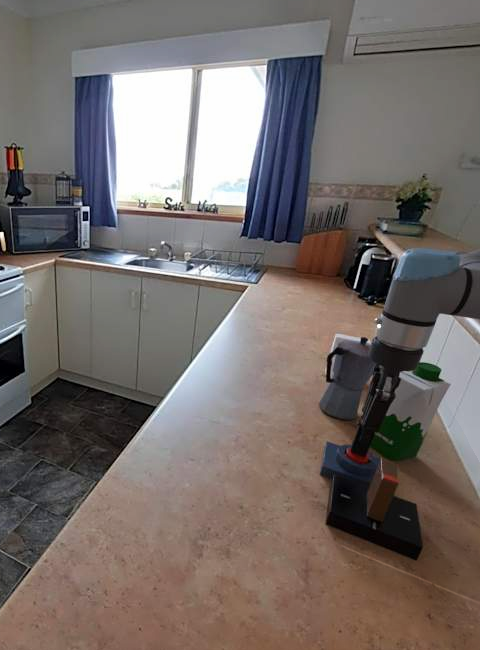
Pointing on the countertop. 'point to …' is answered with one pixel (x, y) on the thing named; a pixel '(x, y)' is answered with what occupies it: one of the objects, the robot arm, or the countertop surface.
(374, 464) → the button block
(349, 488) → the panel
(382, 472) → the handle
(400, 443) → the milk carton
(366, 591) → the countertop surface
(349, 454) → the button
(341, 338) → the light grey piece
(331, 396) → the moka pot
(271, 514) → the countertop surface
